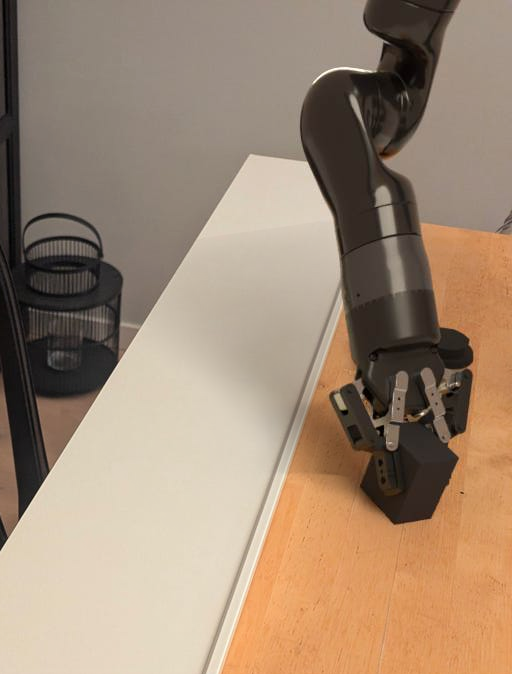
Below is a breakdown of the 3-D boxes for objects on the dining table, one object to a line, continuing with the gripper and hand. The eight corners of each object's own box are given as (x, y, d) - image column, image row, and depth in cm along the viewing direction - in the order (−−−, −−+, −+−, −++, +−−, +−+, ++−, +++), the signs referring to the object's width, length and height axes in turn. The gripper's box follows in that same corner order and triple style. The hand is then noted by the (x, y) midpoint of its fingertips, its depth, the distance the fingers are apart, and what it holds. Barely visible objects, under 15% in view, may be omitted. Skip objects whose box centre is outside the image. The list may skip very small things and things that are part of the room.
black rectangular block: (389, 495, 89) (420, 420, 83) (424, 533, 86) (459, 457, 79) (353, 501, 89) (382, 425, 82) (387, 539, 85) (420, 463, 78)
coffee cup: (405, 447, 96) (441, 360, 88) (363, 412, 100) (394, 327, 93) (455, 434, 98) (494, 349, 91) (412, 401, 102) (446, 317, 95)
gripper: (343, 293, 76) (375, 496, 77) (484, 279, 80) (513, 473, 81) (296, 323, 84) (325, 508, 84) (427, 308, 87) (454, 487, 88)
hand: (417, 490), depth 83 cm, fingers closed on black rectangular block, 4 cm apart
